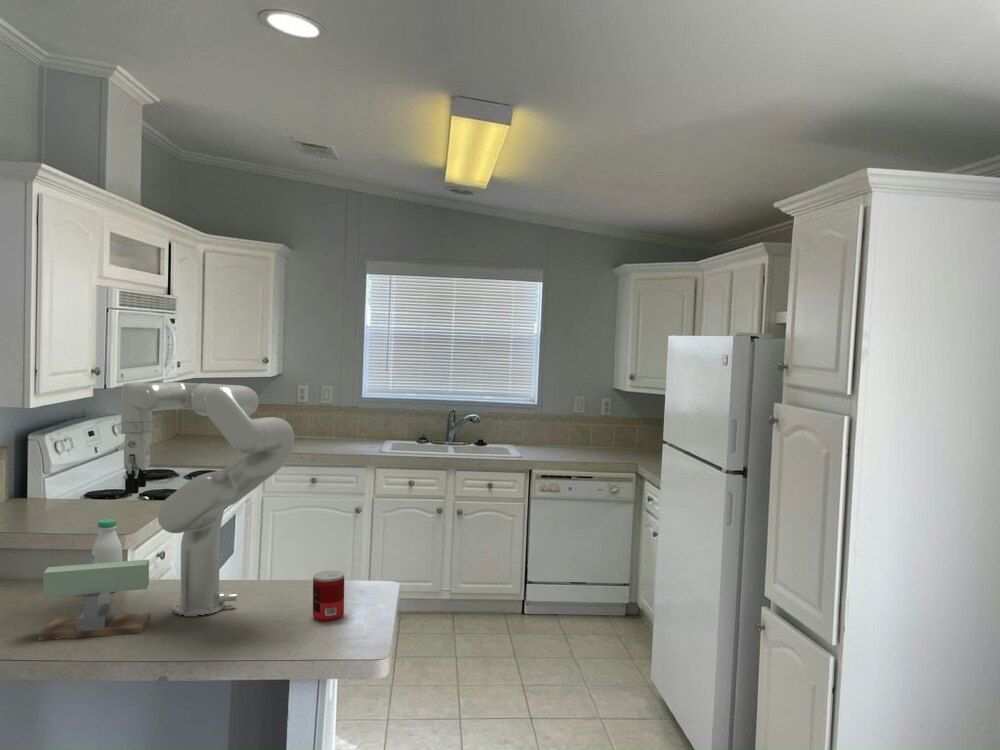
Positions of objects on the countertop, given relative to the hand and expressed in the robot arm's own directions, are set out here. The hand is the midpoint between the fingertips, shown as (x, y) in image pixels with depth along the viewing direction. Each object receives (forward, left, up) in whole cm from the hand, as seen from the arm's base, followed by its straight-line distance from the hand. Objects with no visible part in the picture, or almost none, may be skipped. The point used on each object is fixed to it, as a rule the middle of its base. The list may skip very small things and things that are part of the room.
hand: (135, 490), depth 196 cm
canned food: (-51, +24, -31) cm, 64 cm away
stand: (+4, +21, -30) cm, 37 cm away
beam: (+4, +21, -21) cm, 30 cm away
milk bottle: (+10, -11, -30) cm, 34 cm away
